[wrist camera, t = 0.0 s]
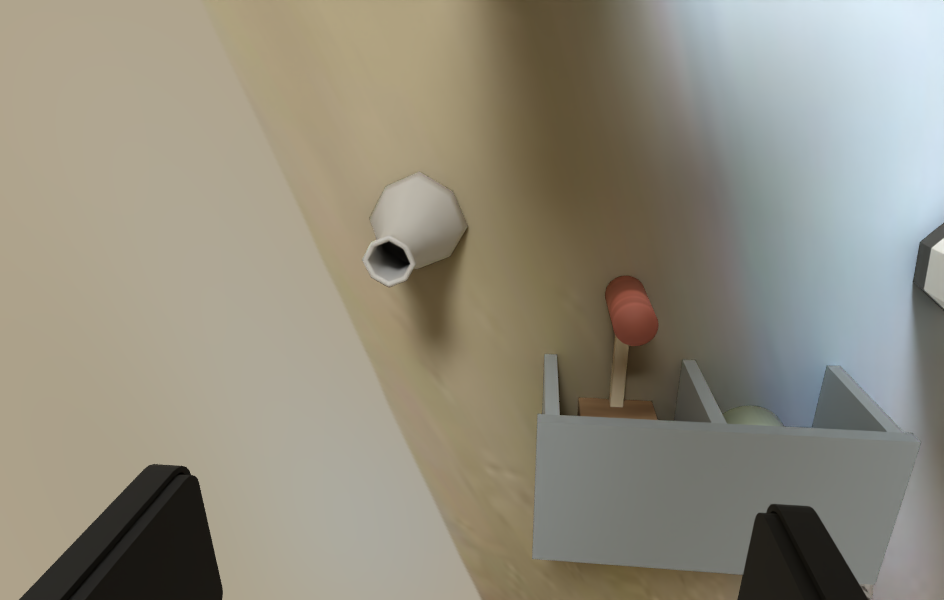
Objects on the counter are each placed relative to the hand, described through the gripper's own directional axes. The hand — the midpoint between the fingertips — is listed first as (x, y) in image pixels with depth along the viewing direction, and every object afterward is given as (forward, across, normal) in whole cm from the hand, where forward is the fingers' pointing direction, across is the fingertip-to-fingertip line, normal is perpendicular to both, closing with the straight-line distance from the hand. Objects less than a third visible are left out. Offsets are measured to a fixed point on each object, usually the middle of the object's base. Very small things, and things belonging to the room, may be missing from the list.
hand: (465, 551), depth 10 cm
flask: (+37, +8, +4) cm, 38 cm away
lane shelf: (+37, -14, +21) cm, 44 cm away
